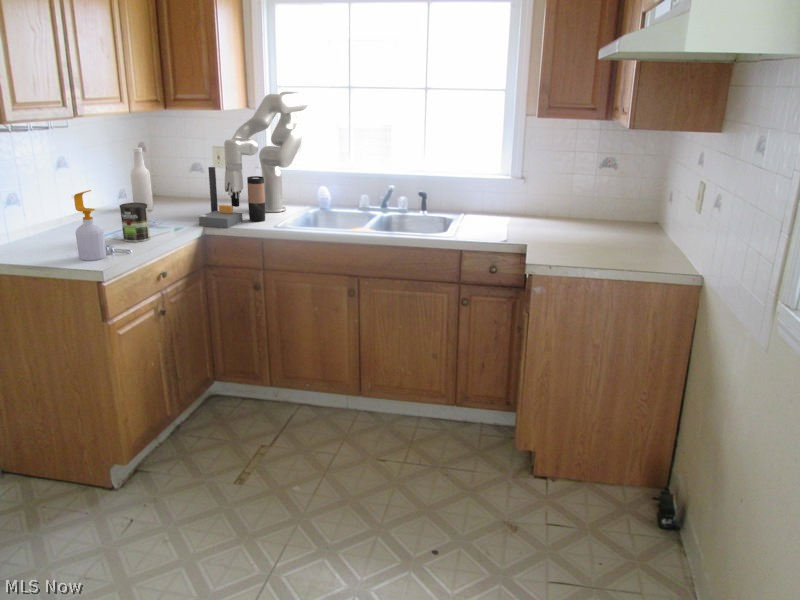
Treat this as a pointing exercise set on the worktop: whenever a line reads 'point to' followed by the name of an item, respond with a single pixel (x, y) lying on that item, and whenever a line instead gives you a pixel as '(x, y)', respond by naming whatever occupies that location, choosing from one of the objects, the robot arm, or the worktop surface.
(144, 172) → the alcohol
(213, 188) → the post
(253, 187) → the travel mug
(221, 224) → the grey square slab
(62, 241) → the worktop surface
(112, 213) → the worktop surface
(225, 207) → the handle
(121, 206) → the coffee can
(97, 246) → the soap bottle
